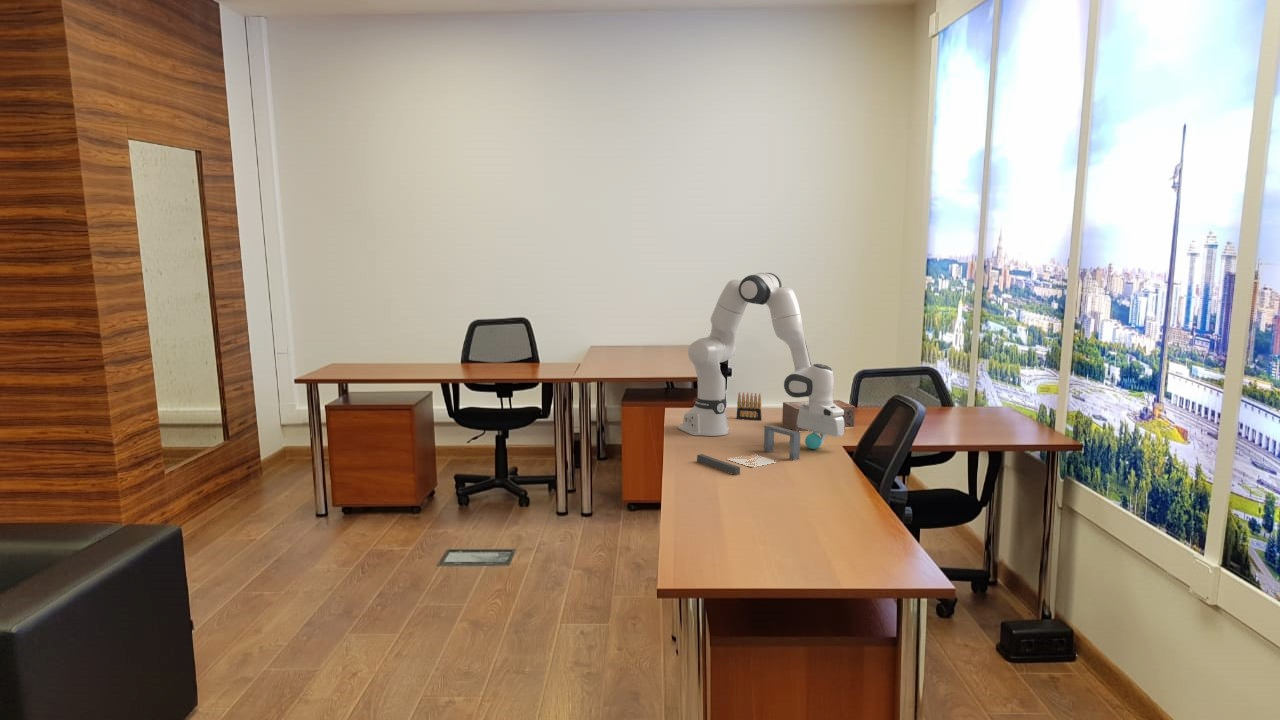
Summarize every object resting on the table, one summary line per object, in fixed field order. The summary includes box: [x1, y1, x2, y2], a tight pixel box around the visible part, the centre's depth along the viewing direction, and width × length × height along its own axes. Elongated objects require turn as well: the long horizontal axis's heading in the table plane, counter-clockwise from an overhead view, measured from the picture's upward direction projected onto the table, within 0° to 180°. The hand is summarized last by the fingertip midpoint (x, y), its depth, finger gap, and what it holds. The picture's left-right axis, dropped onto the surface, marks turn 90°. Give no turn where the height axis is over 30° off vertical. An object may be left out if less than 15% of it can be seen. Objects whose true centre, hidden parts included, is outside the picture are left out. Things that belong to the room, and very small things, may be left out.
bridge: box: [763, 424, 801, 461], centre depth 295 cm, size 3×15×10 cm, turn 35°
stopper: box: [696, 453, 741, 476], centre depth 278 cm, size 20×2×2 cm, turn 35°
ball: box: [804, 432, 822, 450], centre depth 304 cm, size 6×6×6 cm
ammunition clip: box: [735, 391, 762, 422], centre depth 355 cm, size 11×2×12 cm, turn 75°
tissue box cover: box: [781, 399, 856, 432], centre depth 341 cm, size 26×14×10 cm, turn 103°
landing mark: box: [726, 454, 777, 468], centre depth 287 cm, size 13×13×1 cm
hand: (819, 443), depth 307 cm, fingers closed
